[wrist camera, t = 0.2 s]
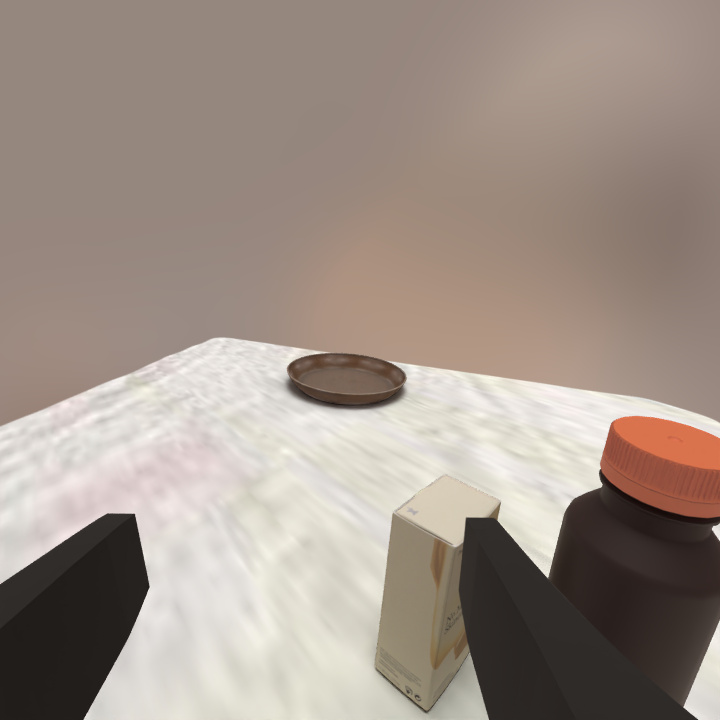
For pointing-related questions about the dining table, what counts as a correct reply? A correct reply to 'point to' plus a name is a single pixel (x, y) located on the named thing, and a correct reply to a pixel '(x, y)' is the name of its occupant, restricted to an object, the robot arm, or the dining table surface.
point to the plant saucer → (346, 378)
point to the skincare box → (427, 589)
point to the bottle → (648, 548)
